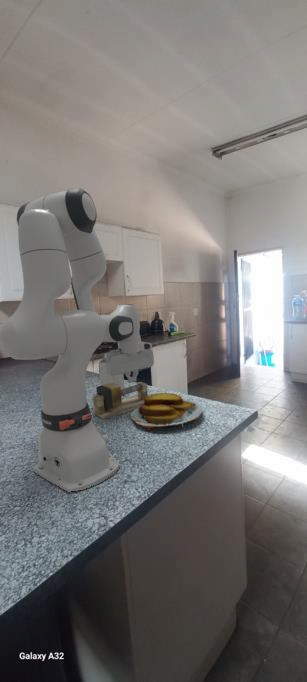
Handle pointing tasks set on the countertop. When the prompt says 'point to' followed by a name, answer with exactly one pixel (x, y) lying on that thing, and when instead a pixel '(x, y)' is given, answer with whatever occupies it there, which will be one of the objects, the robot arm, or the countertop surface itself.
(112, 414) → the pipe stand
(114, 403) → the tan block
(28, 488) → the countertop surface
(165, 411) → the food on plate
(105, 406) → the dark grey hooked block
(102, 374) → the milk carton
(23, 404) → the countertop surface
